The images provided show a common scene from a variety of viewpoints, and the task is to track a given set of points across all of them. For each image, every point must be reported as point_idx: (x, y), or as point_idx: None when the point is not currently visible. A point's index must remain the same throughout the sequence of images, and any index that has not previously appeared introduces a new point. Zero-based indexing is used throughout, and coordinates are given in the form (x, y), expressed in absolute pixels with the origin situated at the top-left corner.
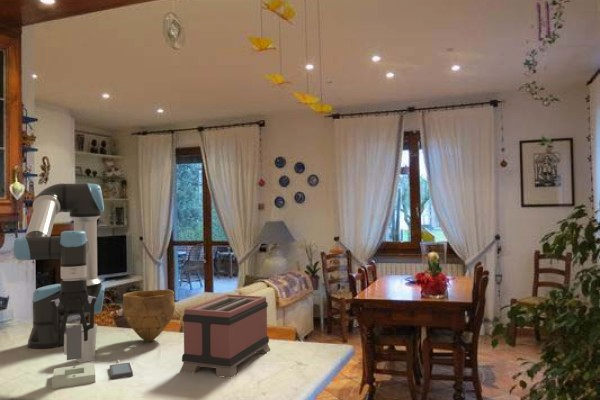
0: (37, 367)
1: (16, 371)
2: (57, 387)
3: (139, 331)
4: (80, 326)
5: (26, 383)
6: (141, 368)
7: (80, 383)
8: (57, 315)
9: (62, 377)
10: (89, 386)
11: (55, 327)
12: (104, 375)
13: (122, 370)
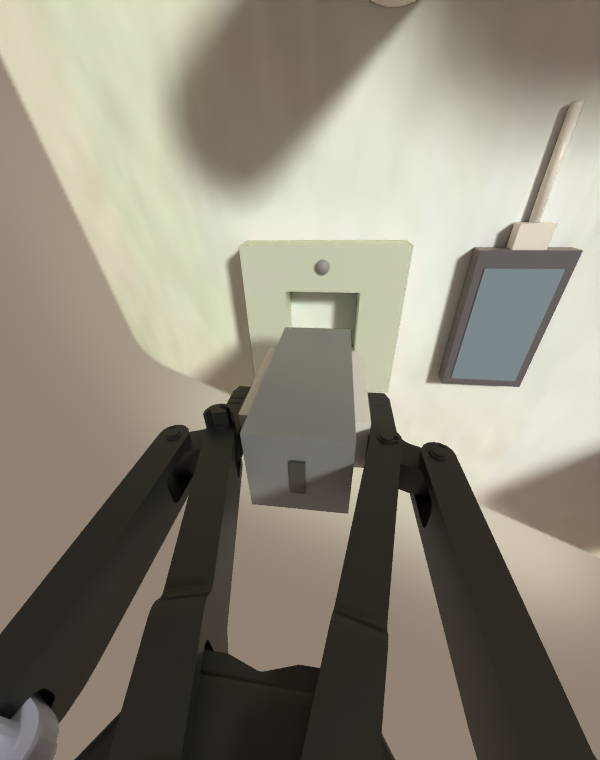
0: (127, 5)
1: (44, 49)
2: None
3: None
4: (343, 504)
5: (167, 283)
6: (591, 310)
7: None
8: (131, 576)
9: None
10: None
11: (174, 491)
12: (428, 326)
13: (495, 354)
